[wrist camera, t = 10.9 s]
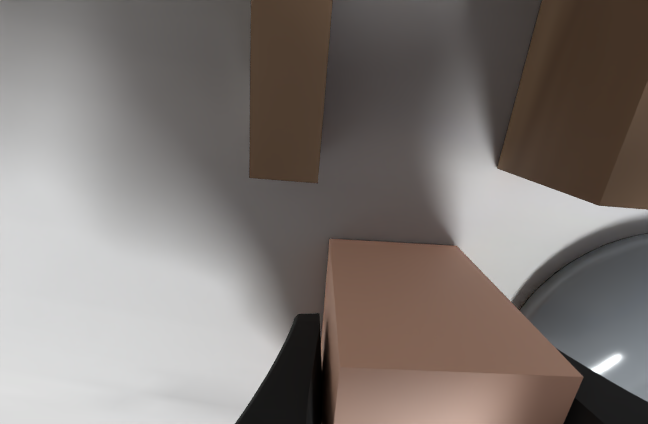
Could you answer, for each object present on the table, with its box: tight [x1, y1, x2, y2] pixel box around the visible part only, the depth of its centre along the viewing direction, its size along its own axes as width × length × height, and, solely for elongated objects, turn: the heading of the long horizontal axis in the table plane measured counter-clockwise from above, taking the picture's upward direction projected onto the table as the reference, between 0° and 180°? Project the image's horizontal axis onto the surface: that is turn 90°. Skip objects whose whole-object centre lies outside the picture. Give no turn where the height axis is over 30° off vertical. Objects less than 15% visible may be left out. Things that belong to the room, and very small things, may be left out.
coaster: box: [520, 234, 648, 402], centre depth 11 cm, size 9×9×1 cm
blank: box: [321, 239, 583, 424], centre depth 8 cm, size 4×6×5 cm, turn 176°
